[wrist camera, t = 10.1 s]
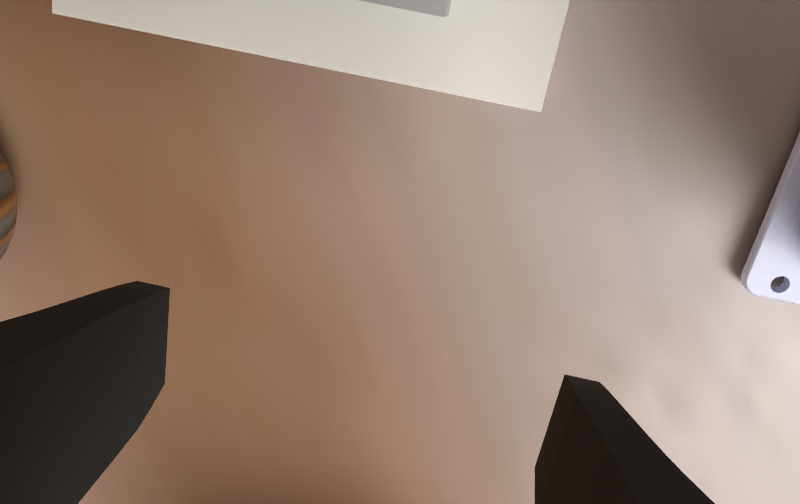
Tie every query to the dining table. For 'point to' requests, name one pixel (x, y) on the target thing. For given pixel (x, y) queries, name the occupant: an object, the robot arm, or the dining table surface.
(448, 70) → the hub panel
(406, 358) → the dining table surface
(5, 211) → the vase
